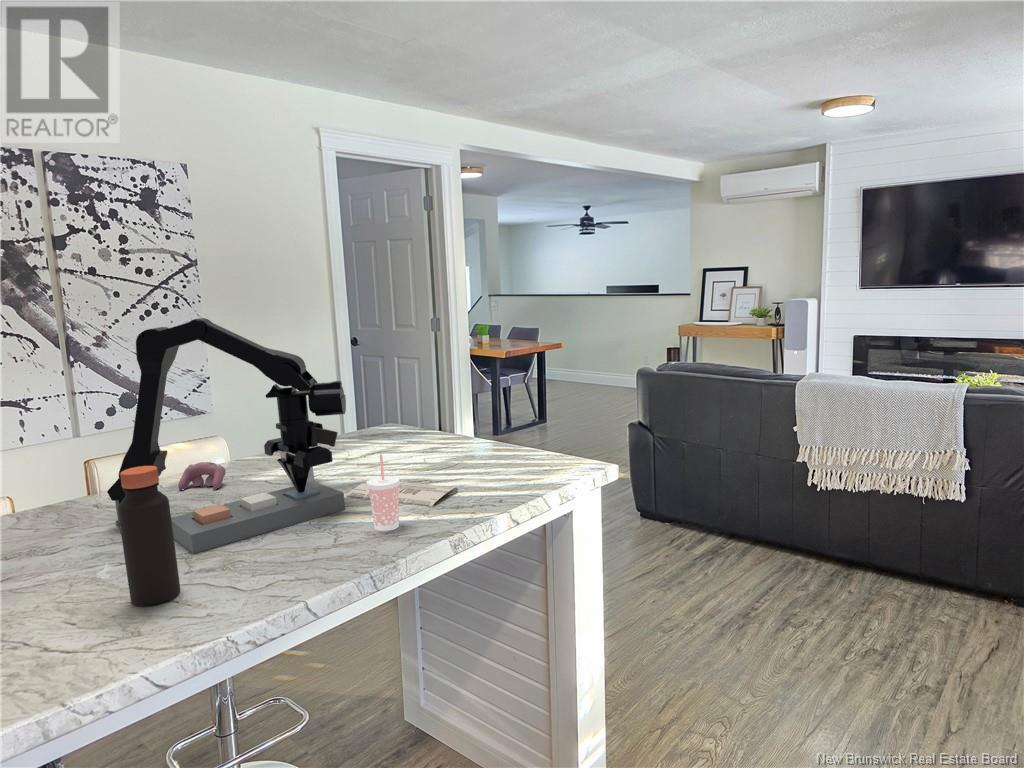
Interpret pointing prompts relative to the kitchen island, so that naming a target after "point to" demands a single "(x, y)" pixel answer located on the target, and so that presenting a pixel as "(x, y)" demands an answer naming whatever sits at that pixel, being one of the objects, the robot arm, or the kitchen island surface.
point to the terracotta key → (211, 514)
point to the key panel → (256, 518)
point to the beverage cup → (384, 501)
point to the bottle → (147, 538)
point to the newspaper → (409, 493)
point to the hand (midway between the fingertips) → (301, 492)
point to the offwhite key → (258, 502)
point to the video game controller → (200, 469)
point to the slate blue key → (296, 495)
